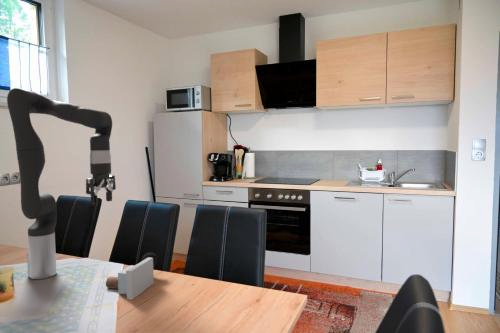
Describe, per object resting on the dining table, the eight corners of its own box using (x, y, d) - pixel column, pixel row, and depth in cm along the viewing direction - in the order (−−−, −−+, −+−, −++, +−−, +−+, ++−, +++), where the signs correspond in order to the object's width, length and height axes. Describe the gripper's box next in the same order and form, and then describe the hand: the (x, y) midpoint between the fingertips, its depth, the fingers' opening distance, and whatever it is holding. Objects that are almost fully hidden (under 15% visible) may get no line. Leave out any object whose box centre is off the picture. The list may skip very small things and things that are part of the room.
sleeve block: (118, 293, 119) (117, 272, 119) (131, 284, 127) (131, 265, 126) (132, 295, 118) (131, 274, 117) (144, 285, 125) (144, 266, 125)
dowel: (105, 288, 123) (106, 277, 124) (112, 286, 127) (113, 275, 127) (131, 291, 120) (132, 280, 121) (138, 289, 124) (139, 278, 125)
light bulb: (155, 280, 131) (154, 255, 130) (140, 280, 131) (139, 255, 130) (159, 274, 137) (158, 250, 136) (145, 274, 137) (144, 250, 136)
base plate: (126, 299, 115) (126, 270, 114) (148, 282, 128) (148, 257, 128) (132, 299, 114) (131, 271, 114) (153, 283, 128) (152, 257, 127)
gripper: (104, 161, 139) (105, 199, 140) (79, 162, 126) (80, 205, 127) (120, 161, 138) (121, 200, 139) (96, 163, 124) (97, 206, 125)
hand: (102, 202), depth 133 cm, fingers open, 8 cm apart
